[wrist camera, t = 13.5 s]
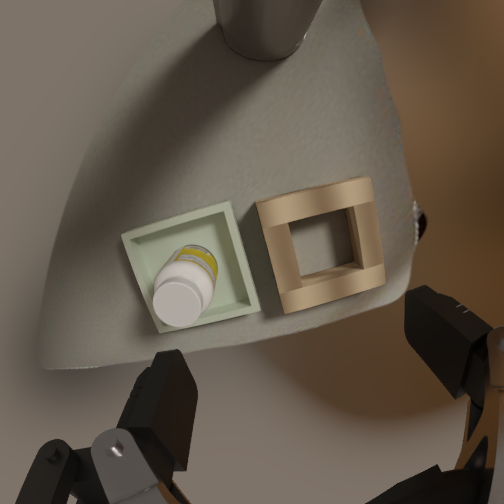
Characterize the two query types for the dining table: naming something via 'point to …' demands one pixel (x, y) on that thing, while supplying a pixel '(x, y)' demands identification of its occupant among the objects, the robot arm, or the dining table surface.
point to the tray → (209, 236)
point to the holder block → (334, 279)
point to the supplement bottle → (185, 285)
